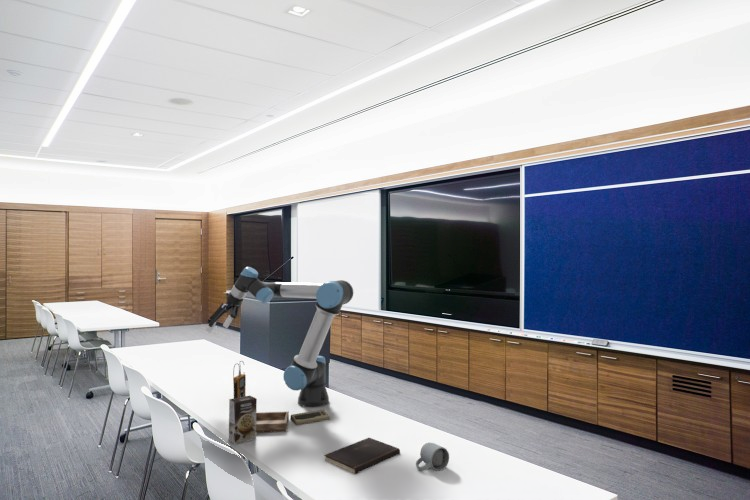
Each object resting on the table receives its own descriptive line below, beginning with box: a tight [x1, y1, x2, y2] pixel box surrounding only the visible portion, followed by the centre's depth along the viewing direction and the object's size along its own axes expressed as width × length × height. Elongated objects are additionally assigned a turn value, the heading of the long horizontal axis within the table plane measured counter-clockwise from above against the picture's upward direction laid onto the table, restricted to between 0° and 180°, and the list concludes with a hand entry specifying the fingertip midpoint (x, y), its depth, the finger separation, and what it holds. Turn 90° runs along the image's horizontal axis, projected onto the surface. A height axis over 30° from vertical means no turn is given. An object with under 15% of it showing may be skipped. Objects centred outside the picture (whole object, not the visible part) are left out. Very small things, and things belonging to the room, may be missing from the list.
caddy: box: [256, 411, 290, 434], centre depth 204 cm, size 15×15×4 cm
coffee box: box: [228, 395, 257, 445], centre depth 189 cm, size 9×6×16 cm
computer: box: [290, 409, 331, 426], centre depth 212 cm, size 16×8×3 cm, turn 118°
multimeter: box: [232, 360, 247, 399], centre depth 236 cm, size 15×10×20 cm
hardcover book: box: [323, 437, 401, 475], centre depth 173 cm, size 16×23×2 cm
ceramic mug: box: [415, 442, 450, 472], centre depth 165 cm, size 11×8×8 cm
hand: (216, 329), depth 241 cm, fingers open, 13 cm apart
